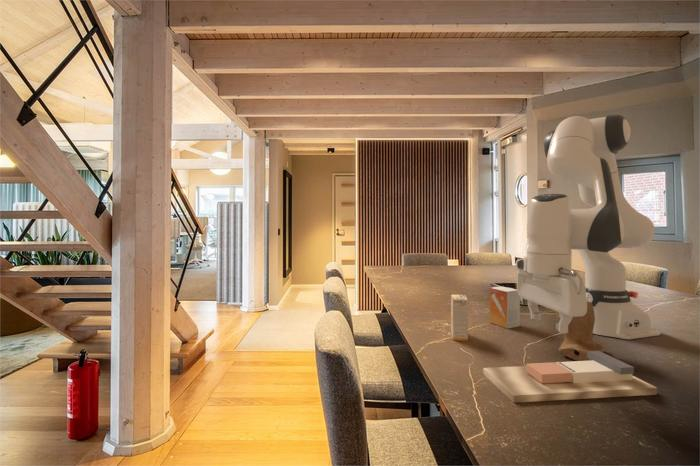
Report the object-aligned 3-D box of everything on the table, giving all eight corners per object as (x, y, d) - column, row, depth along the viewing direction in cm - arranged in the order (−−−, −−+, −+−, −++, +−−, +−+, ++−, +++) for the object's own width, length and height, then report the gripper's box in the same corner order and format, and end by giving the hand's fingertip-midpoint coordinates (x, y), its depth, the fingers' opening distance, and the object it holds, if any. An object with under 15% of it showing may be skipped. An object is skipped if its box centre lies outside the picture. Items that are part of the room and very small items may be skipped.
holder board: (605, 367, 91) (605, 362, 91) (656, 394, 77) (656, 387, 77) (483, 374, 89) (483, 368, 89) (513, 402, 75) (513, 395, 75)
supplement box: (468, 341, 113) (468, 299, 112) (452, 340, 114) (452, 299, 113) (465, 333, 121) (465, 294, 120) (450, 332, 122) (450, 293, 121)
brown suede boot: (560, 342, 111) (560, 293, 110) (607, 351, 103) (608, 298, 102) (546, 356, 100) (546, 302, 99) (598, 367, 92) (599, 309, 91)
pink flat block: (554, 370, 86) (554, 362, 86) (571, 381, 80) (571, 372, 80) (526, 371, 85) (526, 363, 85) (541, 383, 79) (541, 374, 79)
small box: (489, 322, 132) (489, 287, 132) (502, 320, 135) (502, 286, 134) (506, 328, 125) (506, 291, 124) (520, 326, 127) (520, 289, 127)
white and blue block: (604, 365, 89) (604, 350, 89) (640, 383, 79) (640, 366, 79) (550, 368, 88) (550, 352, 88) (579, 387, 78) (579, 369, 78)
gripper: (596, 271, 72) (595, 340, 72) (535, 260, 92) (535, 314, 93) (566, 272, 71) (565, 341, 72) (511, 260, 92) (511, 315, 92)
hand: (548, 326), depth 82 cm, fingers open, 8 cm apart
